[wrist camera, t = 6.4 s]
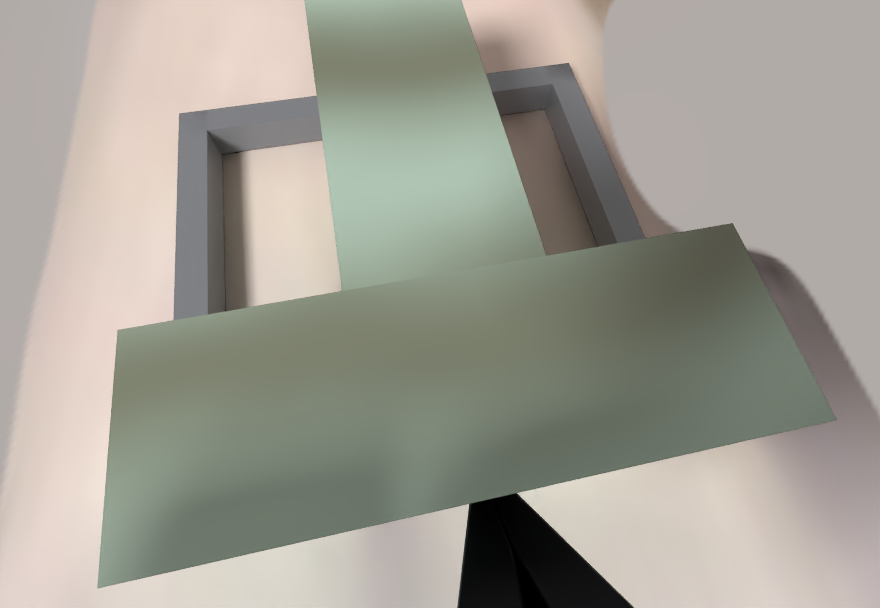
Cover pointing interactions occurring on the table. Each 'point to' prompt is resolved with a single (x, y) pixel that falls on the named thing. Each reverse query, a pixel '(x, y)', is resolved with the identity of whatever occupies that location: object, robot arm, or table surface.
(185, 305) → the frame
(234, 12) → the table surface
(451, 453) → the T-block
